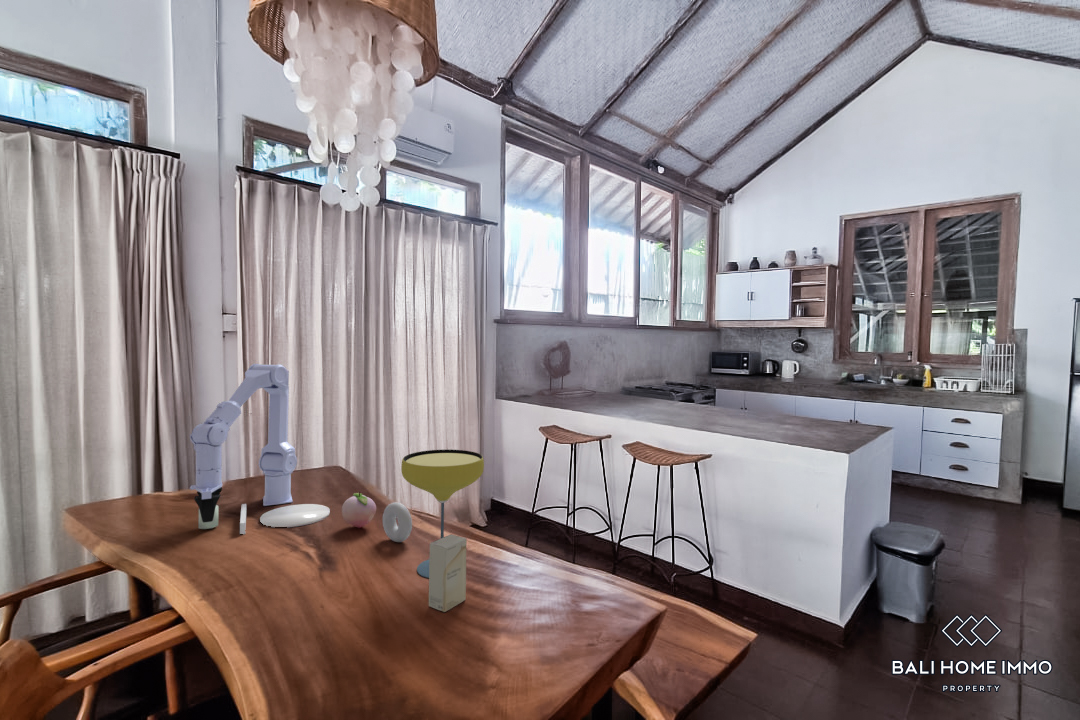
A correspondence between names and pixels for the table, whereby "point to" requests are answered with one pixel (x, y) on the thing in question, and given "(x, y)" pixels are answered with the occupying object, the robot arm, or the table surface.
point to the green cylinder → (209, 524)
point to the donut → (404, 522)
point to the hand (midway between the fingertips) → (208, 518)
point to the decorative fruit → (358, 510)
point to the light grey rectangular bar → (243, 519)
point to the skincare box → (447, 572)
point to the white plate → (295, 515)
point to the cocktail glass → (441, 477)
